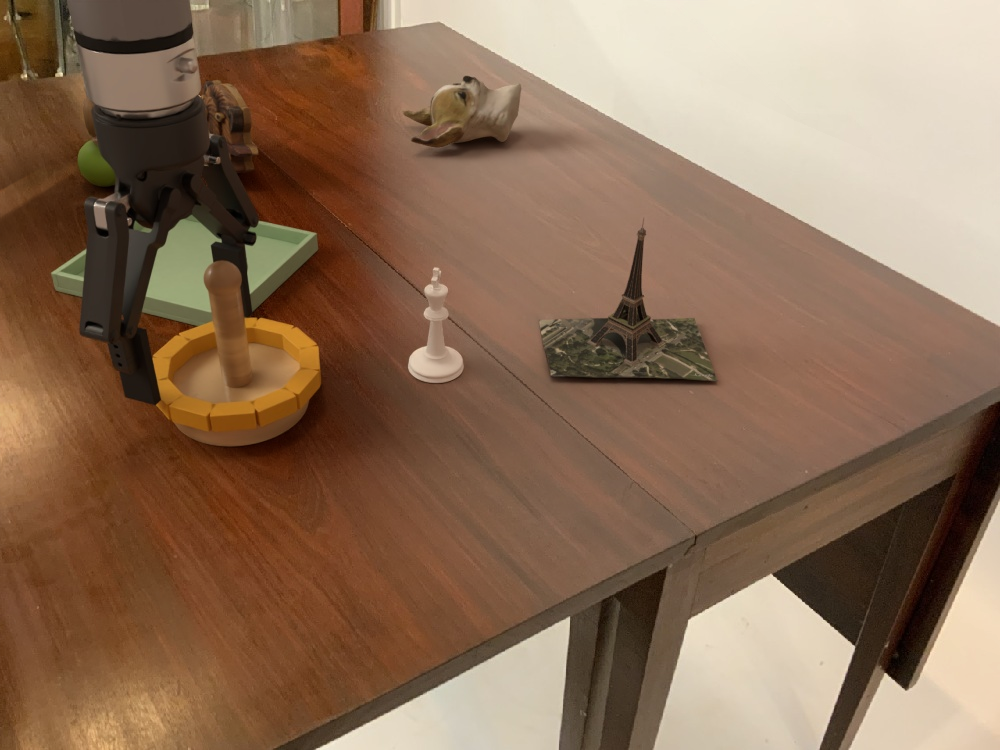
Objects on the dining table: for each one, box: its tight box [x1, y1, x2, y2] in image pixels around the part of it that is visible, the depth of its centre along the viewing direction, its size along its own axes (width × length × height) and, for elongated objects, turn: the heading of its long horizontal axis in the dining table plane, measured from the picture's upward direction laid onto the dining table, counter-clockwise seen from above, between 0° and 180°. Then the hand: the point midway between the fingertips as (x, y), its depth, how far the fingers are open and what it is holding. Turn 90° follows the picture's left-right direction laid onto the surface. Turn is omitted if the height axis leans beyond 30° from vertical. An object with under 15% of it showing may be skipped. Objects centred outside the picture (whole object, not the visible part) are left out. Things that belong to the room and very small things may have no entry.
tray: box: [50, 215, 319, 327], centre depth 97 cm, size 19×17×2 cm
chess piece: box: [407, 266, 465, 384], centre depth 83 cm, size 5×5×10 cm
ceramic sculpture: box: [402, 75, 522, 148], centre depth 125 cm, size 11×9×15 cm
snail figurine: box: [77, 74, 116, 188], centre depth 109 cm, size 5×6×12 cm
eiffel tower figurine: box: [538, 217, 718, 382], centre depth 86 cm, size 15×10×13 cm
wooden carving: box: [200, 79, 259, 174], centre depth 114 cm, size 16×5×10 cm, turn 38°
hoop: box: [152, 317, 322, 432], centre depth 79 cm, size 13×13×2 cm
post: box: [173, 260, 310, 447], centre depth 77 cm, size 11×11×13 cm
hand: (192, 353), depth 80 cm, fingers closed on hoop, 13 cm apart
